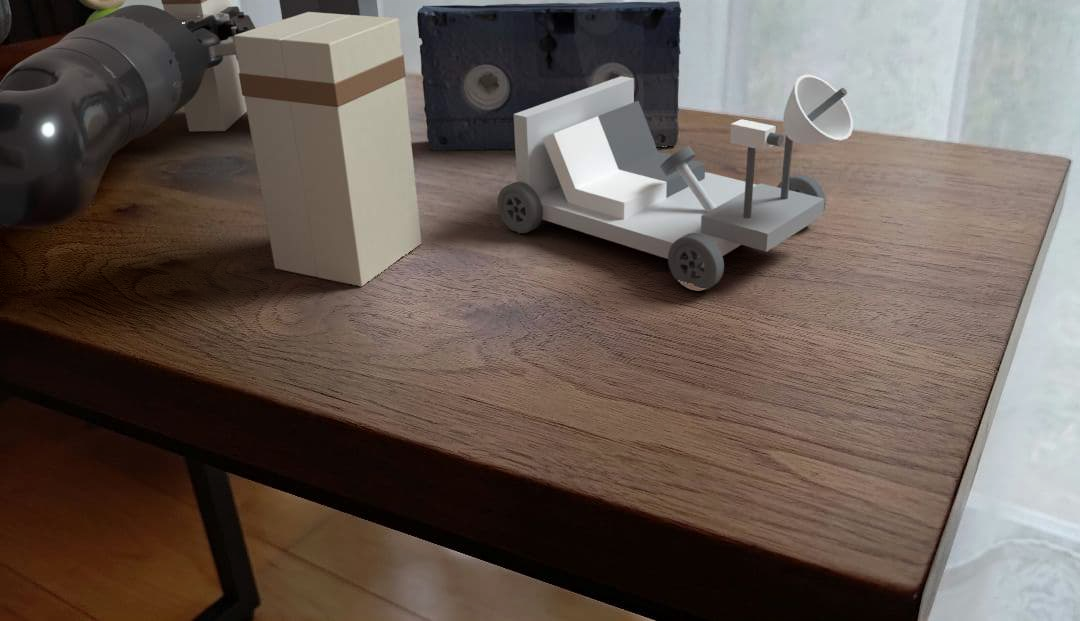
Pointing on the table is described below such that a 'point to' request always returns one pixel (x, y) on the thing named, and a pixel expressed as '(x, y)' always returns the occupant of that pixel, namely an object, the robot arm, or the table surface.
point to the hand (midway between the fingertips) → (214, 20)
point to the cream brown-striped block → (331, 143)
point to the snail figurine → (101, 7)
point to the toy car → (664, 178)
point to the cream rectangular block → (211, 77)
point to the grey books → (328, 7)
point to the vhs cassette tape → (542, 64)
